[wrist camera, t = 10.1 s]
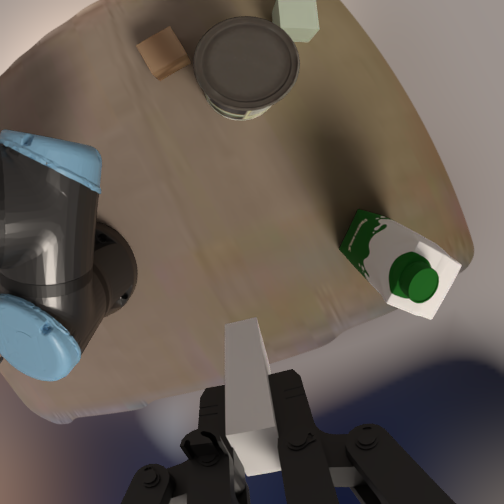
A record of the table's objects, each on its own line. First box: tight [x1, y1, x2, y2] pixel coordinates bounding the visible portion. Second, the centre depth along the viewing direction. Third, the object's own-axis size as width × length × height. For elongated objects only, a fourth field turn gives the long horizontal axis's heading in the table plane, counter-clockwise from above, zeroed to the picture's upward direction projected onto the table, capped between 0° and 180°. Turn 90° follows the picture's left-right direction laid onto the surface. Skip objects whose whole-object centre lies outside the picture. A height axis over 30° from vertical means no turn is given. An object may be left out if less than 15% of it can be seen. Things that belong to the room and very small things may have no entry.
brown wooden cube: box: [136, 26, 191, 81], centre depth 35 cm, size 5×5×5 cm
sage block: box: [272, 0, 319, 42], centre depth 34 cm, size 5×5×6 cm
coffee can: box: [193, 16, 300, 121], centre depth 33 cm, size 10×10×14 cm
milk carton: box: [339, 209, 461, 320], centre depth 39 cm, size 9×9×20 cm
